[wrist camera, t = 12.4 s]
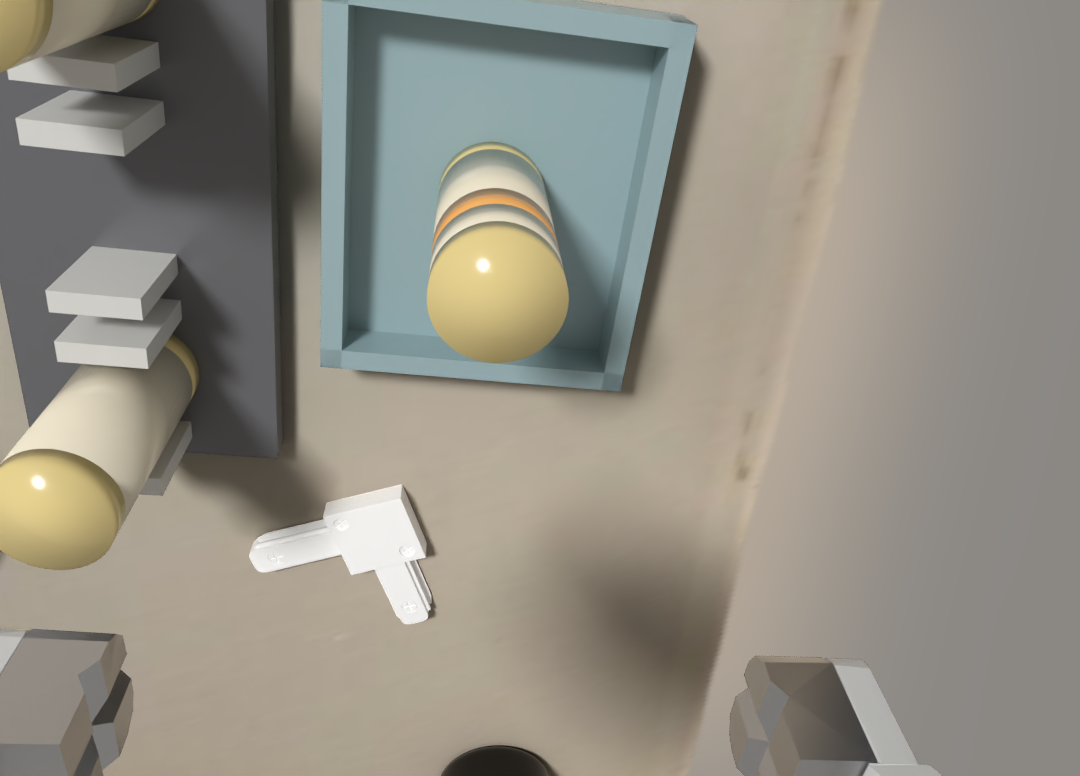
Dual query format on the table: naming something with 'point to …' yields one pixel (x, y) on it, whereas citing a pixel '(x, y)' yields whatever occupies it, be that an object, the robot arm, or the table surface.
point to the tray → (492, 116)
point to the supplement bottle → (496, 763)
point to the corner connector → (360, 546)
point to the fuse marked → (495, 257)
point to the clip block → (150, 217)
